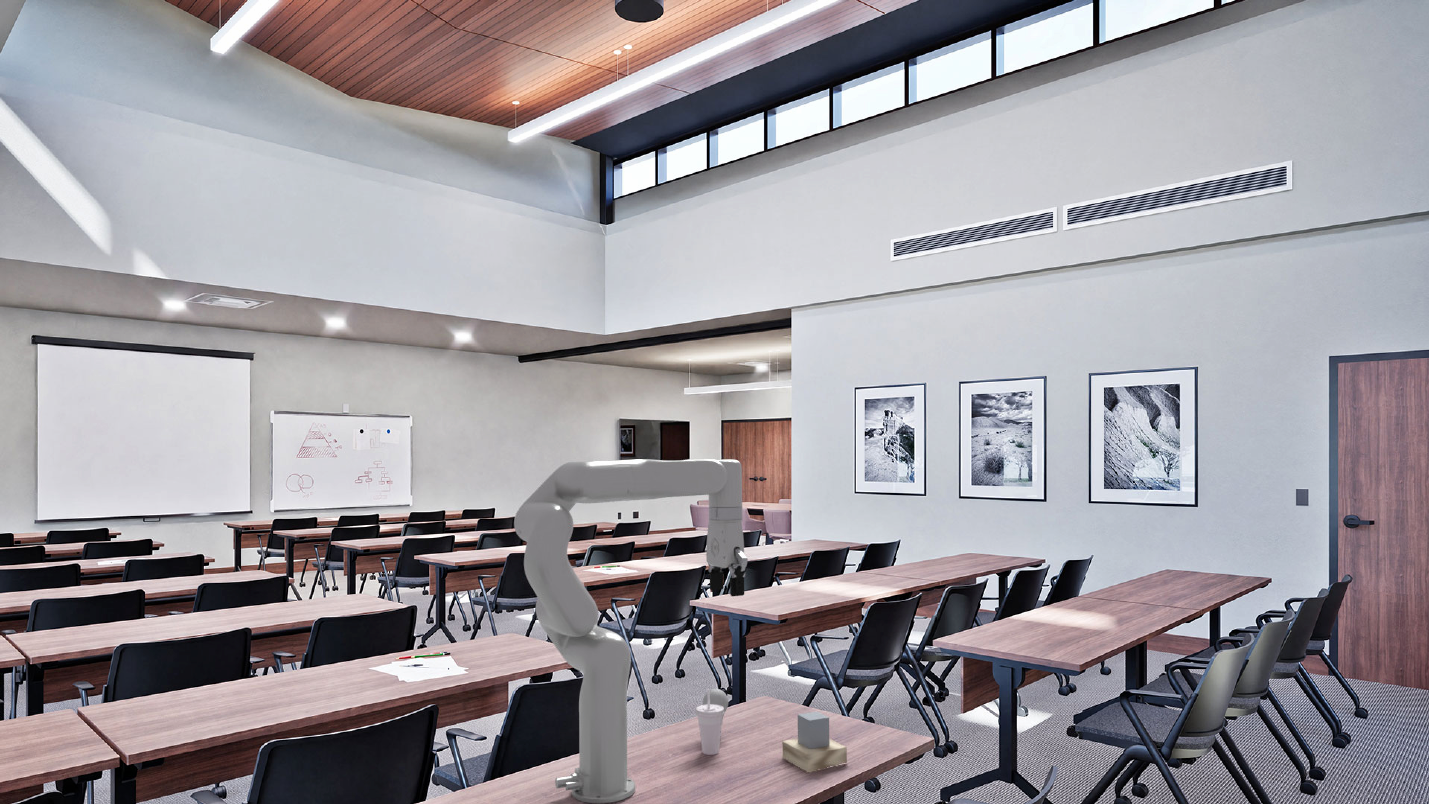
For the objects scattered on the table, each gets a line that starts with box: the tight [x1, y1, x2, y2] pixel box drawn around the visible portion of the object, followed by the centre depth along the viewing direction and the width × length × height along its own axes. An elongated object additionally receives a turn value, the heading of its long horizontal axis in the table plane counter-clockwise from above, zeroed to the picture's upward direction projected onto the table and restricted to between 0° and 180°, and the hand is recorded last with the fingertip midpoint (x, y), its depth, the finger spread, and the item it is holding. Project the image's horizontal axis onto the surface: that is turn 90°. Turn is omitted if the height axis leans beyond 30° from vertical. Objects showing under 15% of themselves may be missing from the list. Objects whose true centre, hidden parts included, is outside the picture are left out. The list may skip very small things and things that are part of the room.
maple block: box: [782, 737, 848, 773], centre depth 184 cm, size 10×10×4 cm
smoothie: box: [695, 688, 725, 756], centre depth 190 cm, size 6×6×14 cm
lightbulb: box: [702, 688, 729, 722], centre depth 201 cm, size 6×6×11 cm
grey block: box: [797, 711, 830, 749], centre depth 184 cm, size 5×5×6 cm
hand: (726, 592), depth 187 cm, fingers open, 9 cm apart
